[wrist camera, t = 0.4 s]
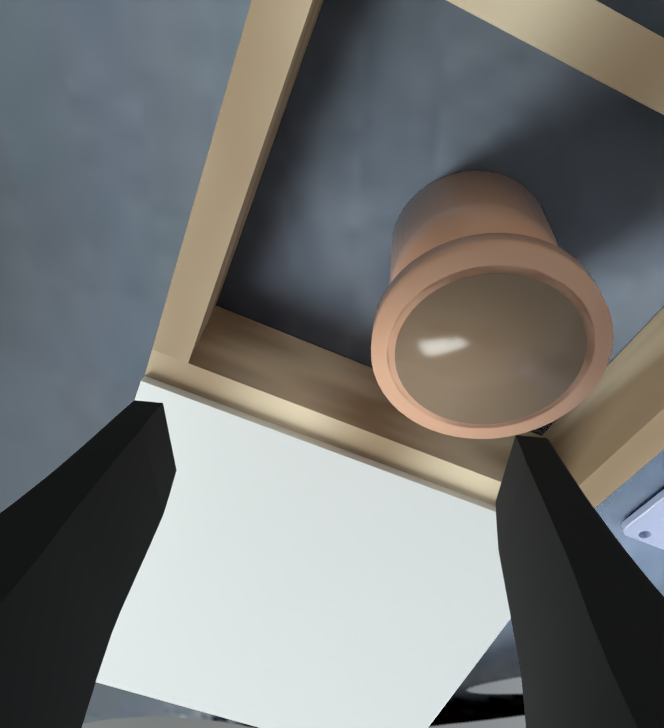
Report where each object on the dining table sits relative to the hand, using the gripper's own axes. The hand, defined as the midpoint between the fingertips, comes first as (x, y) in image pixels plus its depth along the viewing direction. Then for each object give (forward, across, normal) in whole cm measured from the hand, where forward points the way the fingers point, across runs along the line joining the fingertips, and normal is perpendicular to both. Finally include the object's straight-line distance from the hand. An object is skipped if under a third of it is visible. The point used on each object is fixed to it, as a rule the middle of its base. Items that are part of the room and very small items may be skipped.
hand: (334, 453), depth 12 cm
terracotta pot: (+10, -3, 0) cm, 10 cm away
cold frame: (+10, -1, +6) cm, 11 cm away
